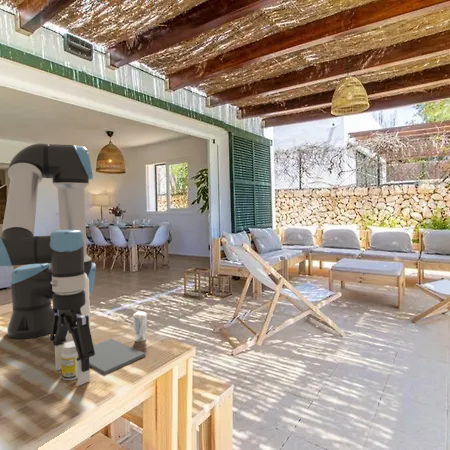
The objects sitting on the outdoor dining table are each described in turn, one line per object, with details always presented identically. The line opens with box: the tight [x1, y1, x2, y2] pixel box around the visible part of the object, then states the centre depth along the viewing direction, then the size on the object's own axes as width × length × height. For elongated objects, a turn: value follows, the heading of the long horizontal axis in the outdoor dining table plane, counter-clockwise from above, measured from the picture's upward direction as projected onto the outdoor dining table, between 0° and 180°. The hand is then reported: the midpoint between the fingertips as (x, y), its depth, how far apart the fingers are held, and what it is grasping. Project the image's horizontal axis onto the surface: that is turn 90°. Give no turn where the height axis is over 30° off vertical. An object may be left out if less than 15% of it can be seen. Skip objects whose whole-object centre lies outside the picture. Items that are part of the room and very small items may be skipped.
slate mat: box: [89, 338, 146, 375], centre depth 96 cm, size 17×13×1 cm
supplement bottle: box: [61, 341, 79, 381], centre depth 85 cm, size 5×5×8 cm
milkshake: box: [132, 309, 150, 343], centre depth 107 cm, size 5×5×10 cm
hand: (72, 375), depth 85 cm, fingers open, 11 cm apart
